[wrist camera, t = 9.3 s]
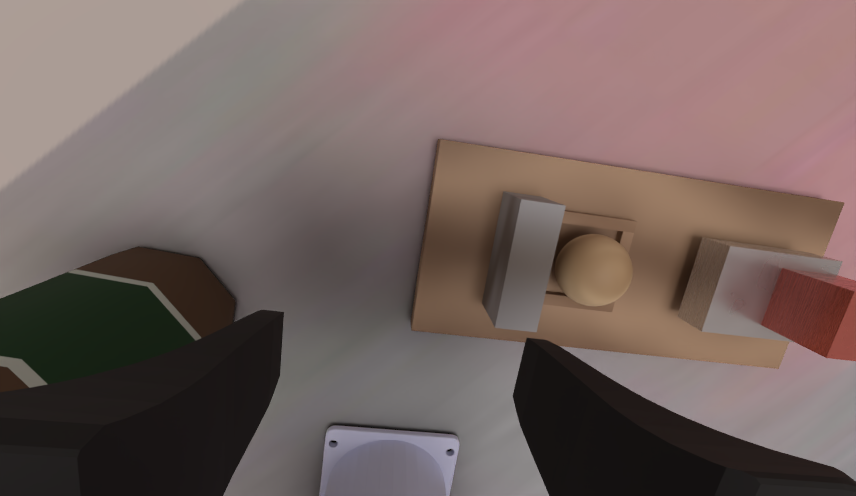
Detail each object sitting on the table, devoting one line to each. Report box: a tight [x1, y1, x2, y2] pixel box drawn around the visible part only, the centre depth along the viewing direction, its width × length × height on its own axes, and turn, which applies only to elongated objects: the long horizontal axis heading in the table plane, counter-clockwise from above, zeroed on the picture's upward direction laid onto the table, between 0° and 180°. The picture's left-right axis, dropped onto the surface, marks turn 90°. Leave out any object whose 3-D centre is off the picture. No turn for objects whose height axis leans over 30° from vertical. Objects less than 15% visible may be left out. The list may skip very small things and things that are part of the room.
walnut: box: [555, 234, 633, 306], centre depth 20 cm, size 4×4×4 cm
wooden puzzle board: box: [411, 139, 844, 369], centre depth 21 cm, size 10×22×4 cm, turn 81°
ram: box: [677, 238, 856, 361], centre depth 19 cm, size 4×6×5 cm
